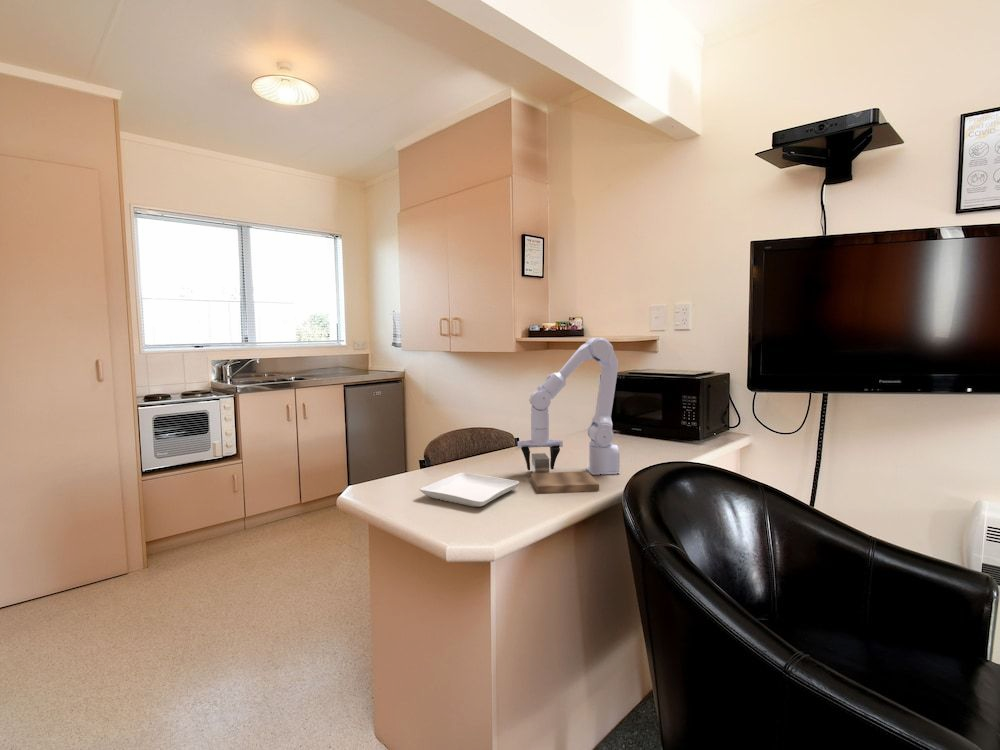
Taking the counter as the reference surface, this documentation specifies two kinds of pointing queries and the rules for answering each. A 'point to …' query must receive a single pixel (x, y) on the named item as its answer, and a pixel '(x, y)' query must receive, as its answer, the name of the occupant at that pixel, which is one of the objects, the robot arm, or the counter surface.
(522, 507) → the counter surface
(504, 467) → the counter surface
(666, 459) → the counter surface
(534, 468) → the housing
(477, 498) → the salad plate
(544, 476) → the walnut board
